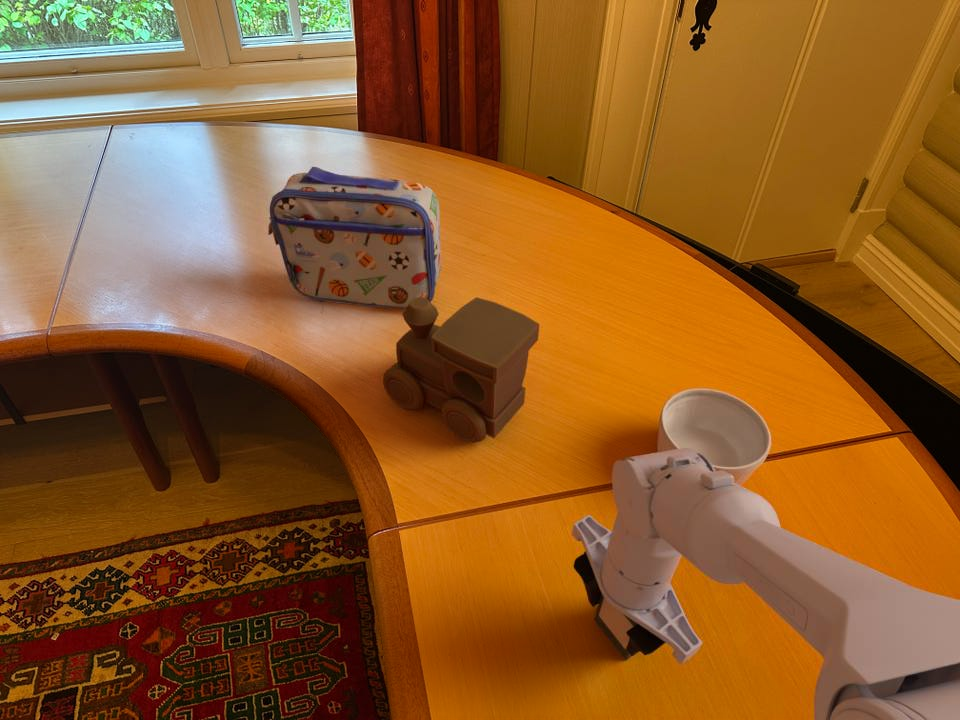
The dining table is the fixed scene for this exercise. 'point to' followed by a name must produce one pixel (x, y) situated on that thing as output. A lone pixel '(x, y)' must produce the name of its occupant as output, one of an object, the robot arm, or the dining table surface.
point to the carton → (614, 625)
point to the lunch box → (358, 238)
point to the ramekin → (715, 430)
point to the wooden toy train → (463, 365)
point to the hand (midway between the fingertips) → (617, 623)
